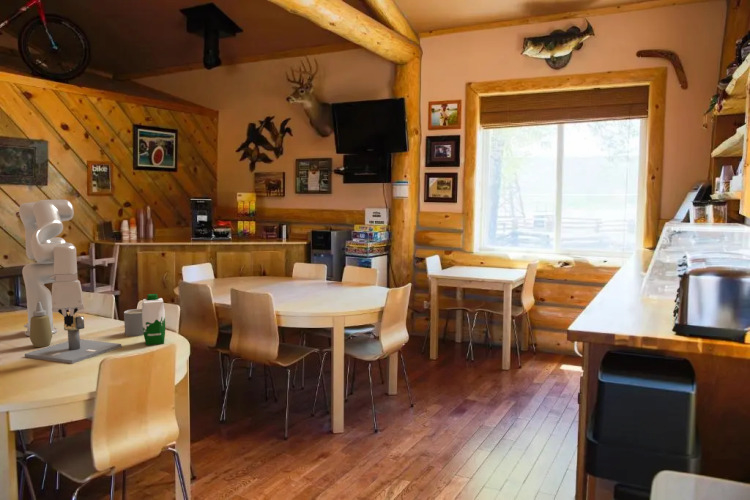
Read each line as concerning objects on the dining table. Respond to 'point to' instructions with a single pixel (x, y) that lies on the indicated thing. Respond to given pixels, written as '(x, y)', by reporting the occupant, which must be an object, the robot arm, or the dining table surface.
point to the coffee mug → (133, 322)
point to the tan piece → (76, 323)
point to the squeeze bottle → (40, 328)
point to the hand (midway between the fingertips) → (69, 325)
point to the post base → (72, 353)
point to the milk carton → (153, 319)
